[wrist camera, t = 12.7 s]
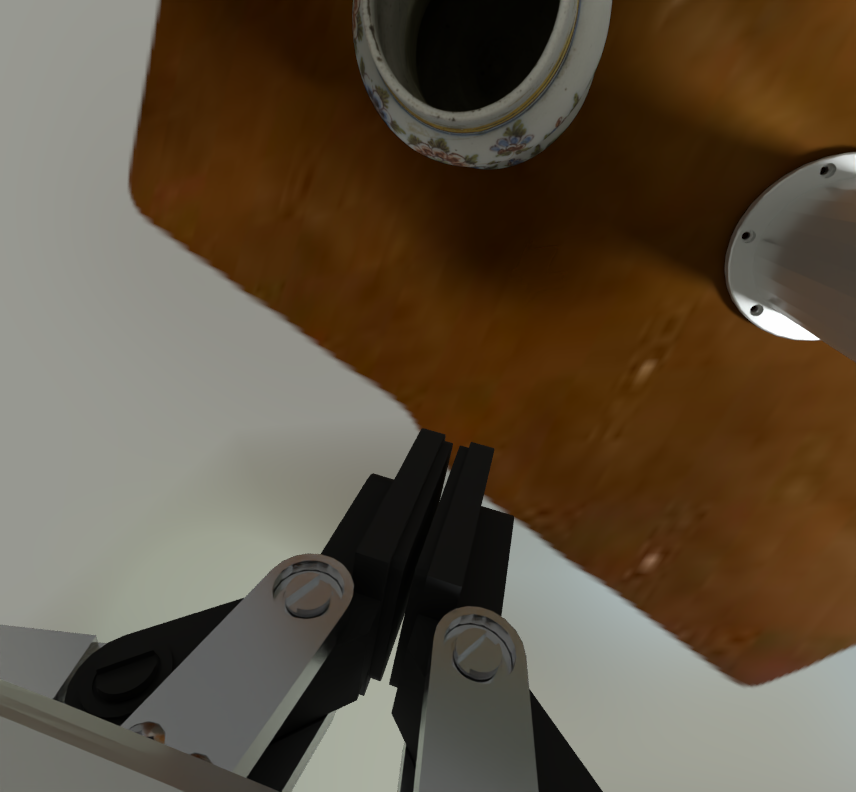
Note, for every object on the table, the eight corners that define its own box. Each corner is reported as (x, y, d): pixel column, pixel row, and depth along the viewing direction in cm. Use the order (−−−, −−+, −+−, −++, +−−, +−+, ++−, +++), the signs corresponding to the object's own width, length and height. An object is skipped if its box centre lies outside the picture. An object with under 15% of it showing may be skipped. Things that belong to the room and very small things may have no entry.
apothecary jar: (557, 187, 36) (555, 199, 21) (408, 148, 38) (299, 132, 22) (622, -13, 31) (687, -206, 15) (444, -49, 32) (332, -261, 16)
